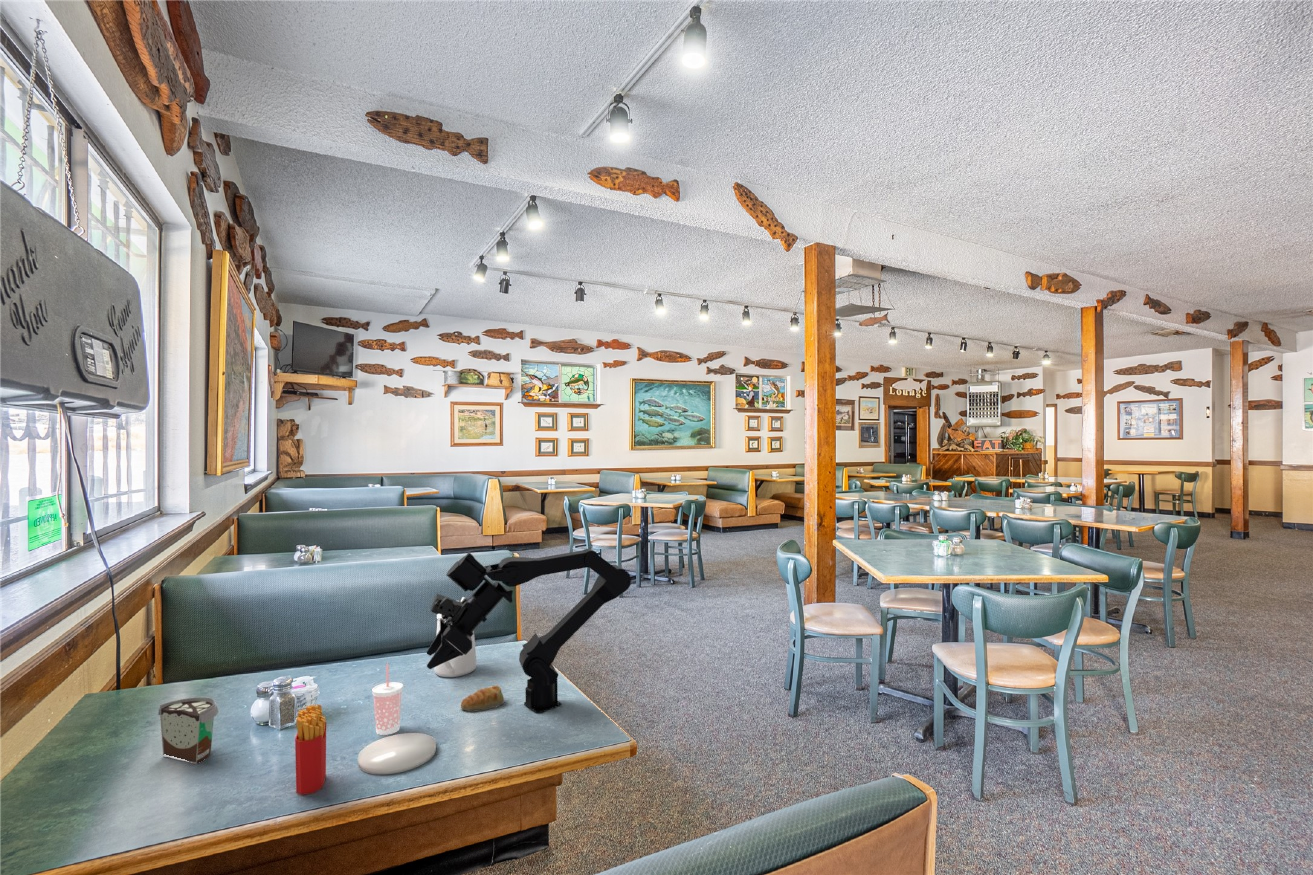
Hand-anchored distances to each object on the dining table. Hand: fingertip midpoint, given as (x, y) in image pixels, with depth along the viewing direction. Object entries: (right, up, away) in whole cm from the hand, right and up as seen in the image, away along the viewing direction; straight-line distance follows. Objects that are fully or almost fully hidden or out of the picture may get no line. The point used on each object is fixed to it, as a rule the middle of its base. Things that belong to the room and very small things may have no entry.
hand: (428, 660), depth 135 cm
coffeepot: (-4, -14, +32) cm, 35 cm away
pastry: (+10, -14, +9) cm, 19 cm away
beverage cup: (-7, -14, -3) cm, 16 cm away
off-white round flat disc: (-1, -13, -14) cm, 20 cm away
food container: (-42, -14, -12) cm, 46 cm away
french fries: (-12, -14, -24) cm, 30 cm away
